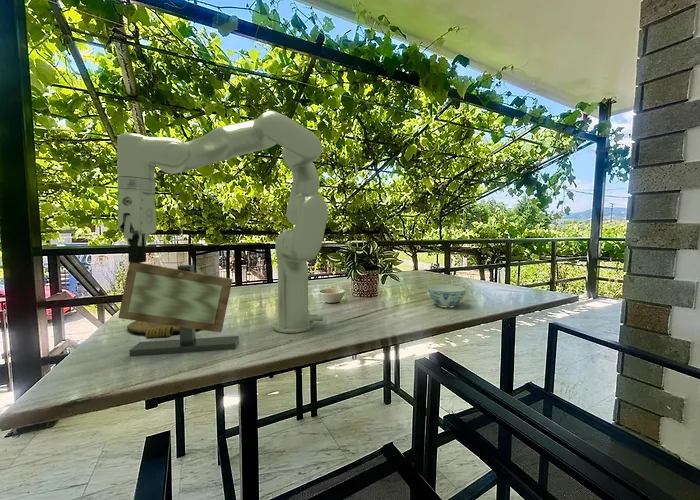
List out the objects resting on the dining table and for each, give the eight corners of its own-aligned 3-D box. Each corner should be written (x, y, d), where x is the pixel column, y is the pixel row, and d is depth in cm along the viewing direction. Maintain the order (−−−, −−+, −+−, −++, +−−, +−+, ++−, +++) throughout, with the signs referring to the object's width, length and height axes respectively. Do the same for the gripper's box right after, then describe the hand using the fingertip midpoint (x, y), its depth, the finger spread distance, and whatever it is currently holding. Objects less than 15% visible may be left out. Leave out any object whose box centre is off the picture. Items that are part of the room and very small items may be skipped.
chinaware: (471, 311, 124) (471, 291, 123) (432, 310, 124) (433, 291, 123) (458, 302, 139) (458, 284, 138) (424, 302, 139) (424, 284, 138)
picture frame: (222, 330, 84) (232, 278, 84) (220, 332, 82) (231, 280, 82) (122, 316, 79) (133, 261, 79) (117, 318, 77) (128, 262, 77)
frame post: (238, 341, 89) (237, 263, 88) (235, 348, 83) (233, 266, 82) (140, 347, 84) (137, 265, 83) (129, 356, 78) (126, 268, 77)
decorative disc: (228, 305, 125) (217, 323, 96) (228, 314, 125) (217, 334, 96) (145, 310, 117) (107, 331, 88) (145, 319, 117) (107, 343, 88)
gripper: (139, 183, 70) (140, 265, 71) (165, 191, 85) (165, 259, 86) (101, 181, 69) (102, 265, 70) (134, 190, 83) (134, 259, 84)
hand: (137, 262), depth 78 cm, fingers closed
